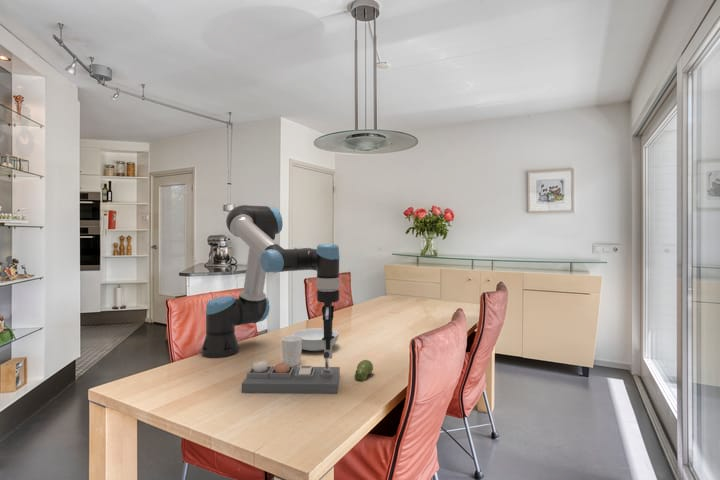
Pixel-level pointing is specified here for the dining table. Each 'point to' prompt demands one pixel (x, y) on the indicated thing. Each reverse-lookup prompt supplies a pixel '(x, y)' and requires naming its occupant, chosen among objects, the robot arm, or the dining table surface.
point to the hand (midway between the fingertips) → (328, 357)
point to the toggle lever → (326, 363)
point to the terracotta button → (282, 368)
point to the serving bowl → (314, 338)
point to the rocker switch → (305, 370)
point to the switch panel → (292, 381)
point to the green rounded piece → (363, 370)
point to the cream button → (260, 366)
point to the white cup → (292, 350)
